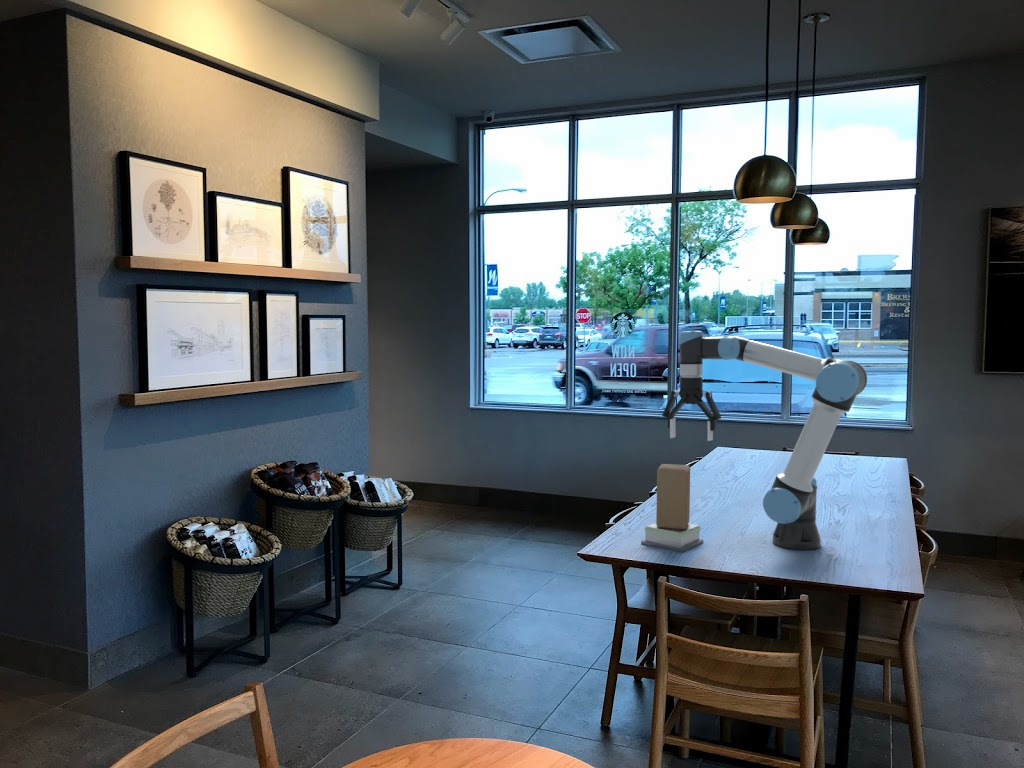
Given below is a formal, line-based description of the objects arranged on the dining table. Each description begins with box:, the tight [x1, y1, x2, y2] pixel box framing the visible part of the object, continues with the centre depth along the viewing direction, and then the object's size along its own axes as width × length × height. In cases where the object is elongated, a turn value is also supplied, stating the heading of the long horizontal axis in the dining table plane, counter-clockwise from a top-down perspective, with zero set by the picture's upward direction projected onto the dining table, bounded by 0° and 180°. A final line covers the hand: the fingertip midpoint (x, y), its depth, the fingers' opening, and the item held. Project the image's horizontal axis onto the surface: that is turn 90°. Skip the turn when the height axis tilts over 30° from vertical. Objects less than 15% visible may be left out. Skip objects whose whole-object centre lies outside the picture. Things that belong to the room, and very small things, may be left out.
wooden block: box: [655, 463, 691, 530], centre depth 267 cm, size 10×10×20 cm
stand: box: [640, 522, 704, 553], centre depth 268 cm, size 15×15×6 cm
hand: (691, 439), depth 272 cm, fingers open, 13 cm apart
